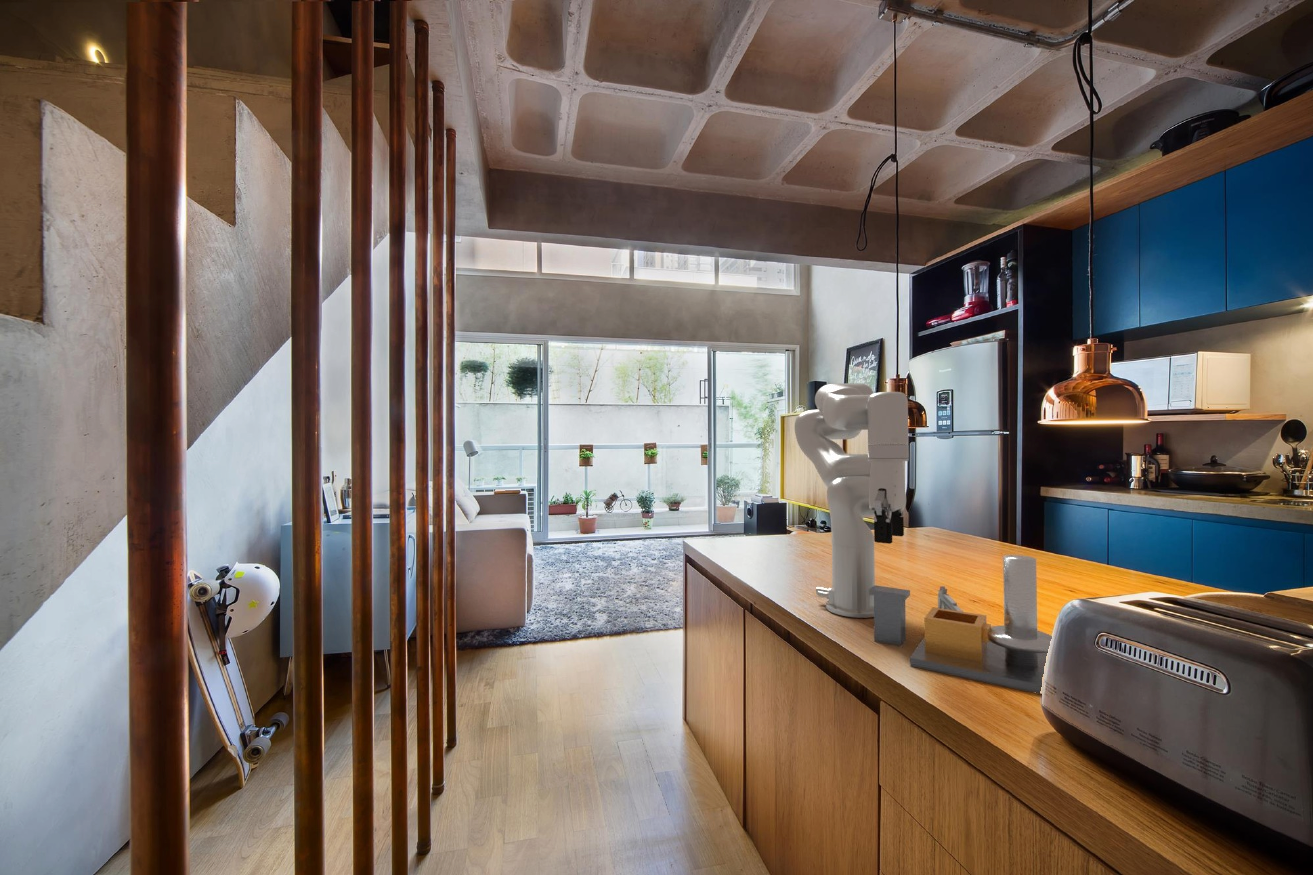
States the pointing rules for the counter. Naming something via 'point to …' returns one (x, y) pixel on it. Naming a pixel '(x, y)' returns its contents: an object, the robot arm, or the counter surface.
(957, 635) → the post
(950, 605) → the caliper
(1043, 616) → the counter surface
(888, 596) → the tall grey pillar block
